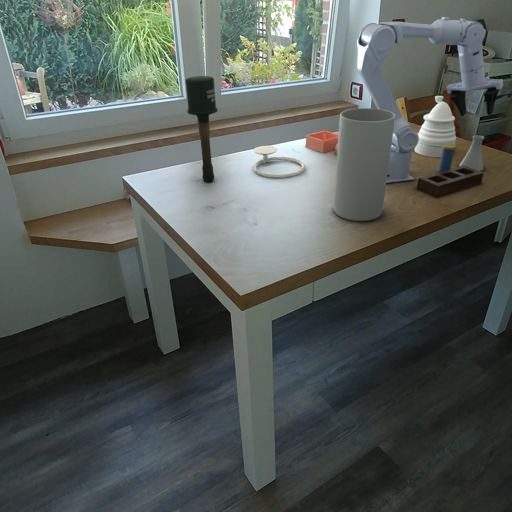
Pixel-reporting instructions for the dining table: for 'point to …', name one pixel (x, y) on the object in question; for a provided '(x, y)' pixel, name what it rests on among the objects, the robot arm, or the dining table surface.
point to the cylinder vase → (362, 162)
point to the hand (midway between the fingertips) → (476, 113)
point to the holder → (449, 181)
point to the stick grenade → (202, 115)
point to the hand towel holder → (270, 150)
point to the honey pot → (436, 130)
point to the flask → (474, 155)
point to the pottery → (322, 141)
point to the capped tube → (446, 156)
